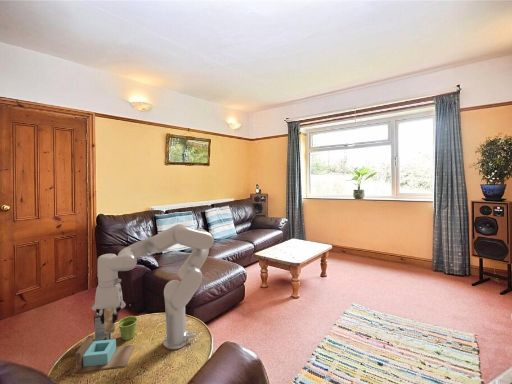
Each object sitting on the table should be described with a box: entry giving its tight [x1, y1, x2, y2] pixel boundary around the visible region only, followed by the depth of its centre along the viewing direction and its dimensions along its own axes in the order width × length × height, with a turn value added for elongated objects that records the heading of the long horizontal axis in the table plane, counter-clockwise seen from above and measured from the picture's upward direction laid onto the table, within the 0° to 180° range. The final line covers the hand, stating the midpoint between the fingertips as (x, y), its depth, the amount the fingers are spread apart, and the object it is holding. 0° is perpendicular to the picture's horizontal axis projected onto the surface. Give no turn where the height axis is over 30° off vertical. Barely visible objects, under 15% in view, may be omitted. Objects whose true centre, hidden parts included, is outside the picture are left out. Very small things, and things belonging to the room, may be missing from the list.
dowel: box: [104, 308, 116, 334], centre depth 115 cm, size 4×4×12 cm
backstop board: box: [73, 335, 136, 374], centre depth 119 cm, size 21×14×8 cm, turn 99°
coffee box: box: [93, 311, 113, 341], centre depth 131 cm, size 9×6×16 cm
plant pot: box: [117, 315, 138, 341], centre depth 135 cm, size 9×9×9 cm
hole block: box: [83, 338, 117, 367], centre depth 119 cm, size 10×10×5 cm
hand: (109, 321), depth 115 cm, fingers closed on dowel, 4 cm apart
